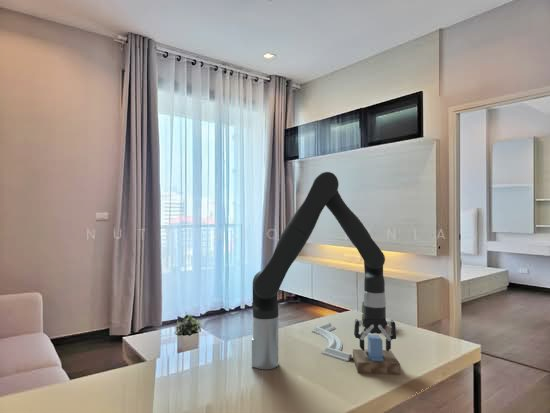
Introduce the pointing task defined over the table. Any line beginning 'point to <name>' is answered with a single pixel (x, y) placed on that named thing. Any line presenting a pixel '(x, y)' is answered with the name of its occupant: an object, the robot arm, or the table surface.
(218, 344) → the table surface
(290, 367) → the table surface
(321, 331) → the molding
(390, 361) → the tan square ring
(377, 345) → the blue block
